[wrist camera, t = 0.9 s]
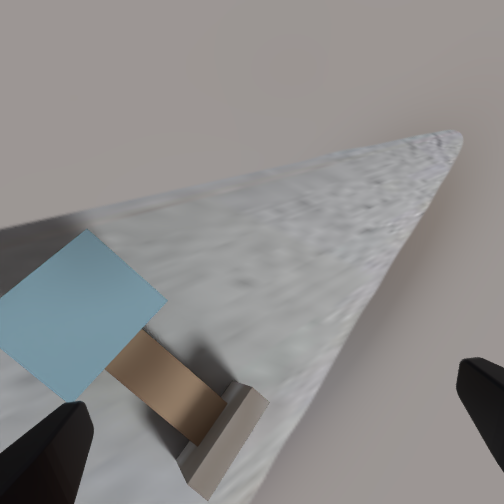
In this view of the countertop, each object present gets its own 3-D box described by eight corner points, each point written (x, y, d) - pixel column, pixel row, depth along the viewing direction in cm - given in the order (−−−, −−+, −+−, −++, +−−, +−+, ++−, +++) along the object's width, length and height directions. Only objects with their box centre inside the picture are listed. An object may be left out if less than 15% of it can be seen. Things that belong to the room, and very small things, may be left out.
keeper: (154, 313, 22) (168, 300, 15) (87, 385, 19) (70, 405, 13) (97, 263, 21) (86, 228, 15) (21, 330, 19) (-31, 322, 12)
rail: (247, 393, 23) (269, 402, 20) (193, 474, 21) (207, 501, 17) (100, 264, 22) (96, 249, 18) (22, 333, 19) (0, 331, 16)
